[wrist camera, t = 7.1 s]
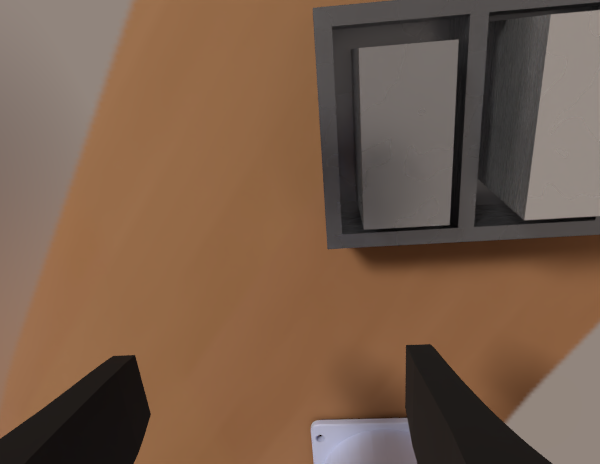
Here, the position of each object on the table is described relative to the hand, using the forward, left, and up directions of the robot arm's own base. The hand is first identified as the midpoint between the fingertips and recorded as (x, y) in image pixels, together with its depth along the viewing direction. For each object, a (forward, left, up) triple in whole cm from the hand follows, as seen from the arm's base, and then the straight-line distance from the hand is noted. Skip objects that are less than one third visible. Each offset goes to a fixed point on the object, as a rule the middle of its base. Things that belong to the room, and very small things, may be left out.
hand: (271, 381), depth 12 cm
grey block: (+6, -10, -9) cm, 14 cm away
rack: (+5, -7, -10) cm, 13 cm away
